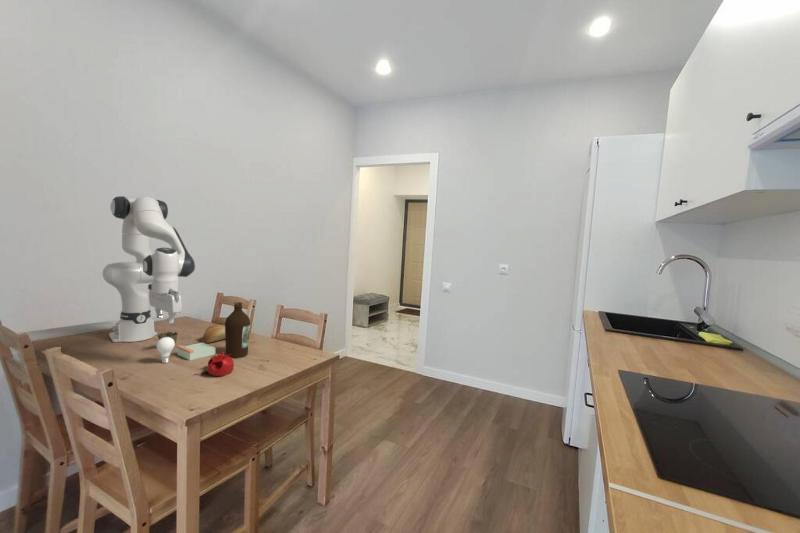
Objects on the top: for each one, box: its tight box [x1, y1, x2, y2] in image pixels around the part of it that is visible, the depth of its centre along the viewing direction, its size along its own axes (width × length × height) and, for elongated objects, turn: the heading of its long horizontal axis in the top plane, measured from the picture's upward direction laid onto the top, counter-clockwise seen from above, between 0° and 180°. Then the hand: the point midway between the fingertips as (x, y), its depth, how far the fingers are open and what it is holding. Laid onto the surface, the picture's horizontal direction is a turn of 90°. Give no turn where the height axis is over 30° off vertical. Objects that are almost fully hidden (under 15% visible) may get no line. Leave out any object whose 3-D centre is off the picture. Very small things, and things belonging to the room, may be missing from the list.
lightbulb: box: [156, 337, 176, 364], centre depth 140 cm, size 6×6×11 cm
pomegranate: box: [206, 350, 235, 377], centre depth 137 cm, size 10×10×9 cm
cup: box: [157, 331, 178, 344], centre depth 158 cm, size 8×7×8 cm
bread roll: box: [202, 324, 225, 344], centre depth 176 cm, size 10×15×8 cm, turn 155°
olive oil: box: [224, 301, 251, 359], centre depth 157 cm, size 11×11×25 cm
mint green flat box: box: [176, 341, 216, 361], centre depth 152 cm, size 11×11×4 cm
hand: (165, 320), depth 140 cm, fingers open, 8 cm apart
